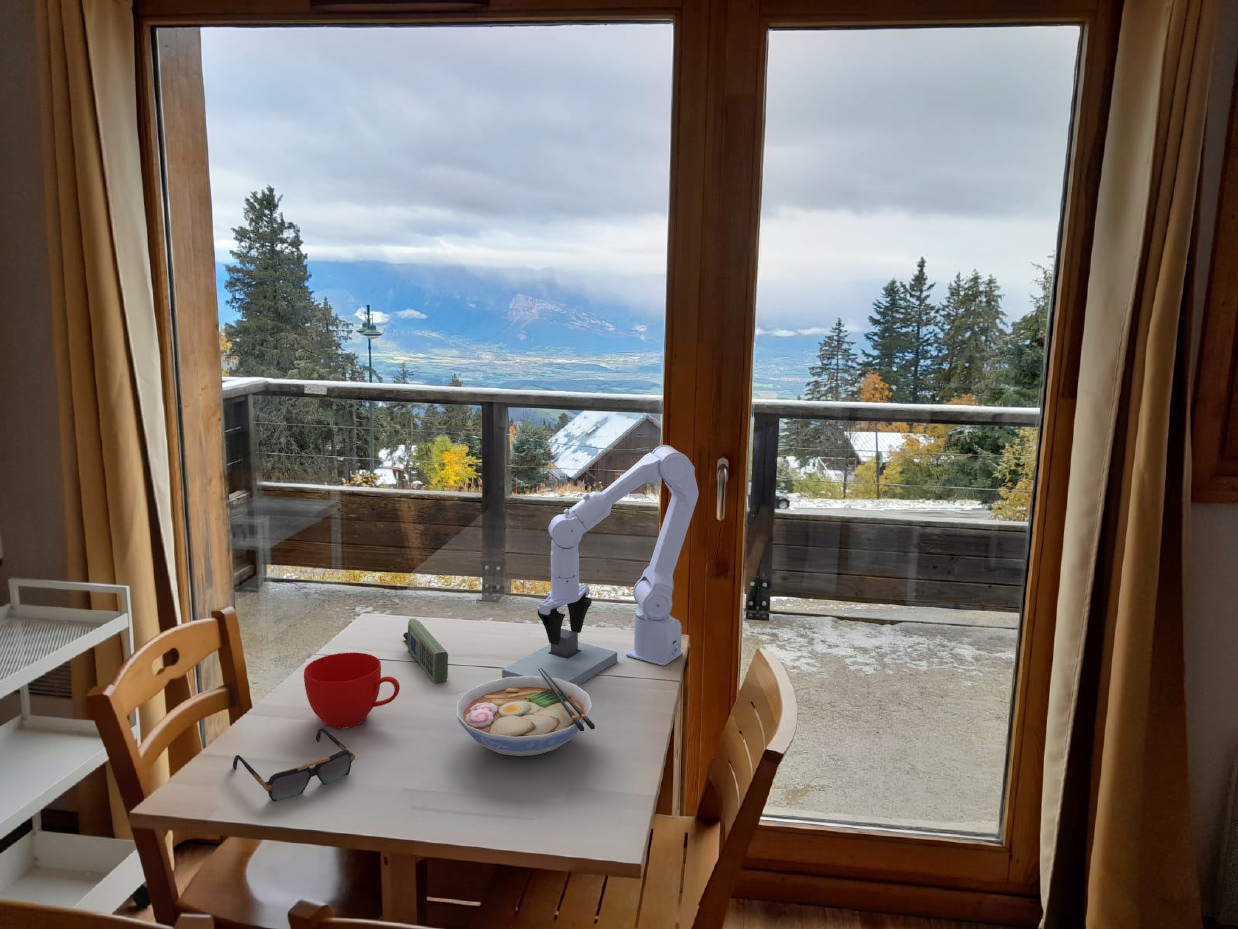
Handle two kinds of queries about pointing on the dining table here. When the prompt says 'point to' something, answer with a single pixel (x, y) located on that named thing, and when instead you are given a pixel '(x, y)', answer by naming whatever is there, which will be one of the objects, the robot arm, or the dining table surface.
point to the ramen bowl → (524, 714)
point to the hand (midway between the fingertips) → (565, 637)
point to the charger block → (566, 644)
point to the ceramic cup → (345, 687)
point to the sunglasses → (304, 772)
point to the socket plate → (563, 664)
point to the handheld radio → (427, 651)
